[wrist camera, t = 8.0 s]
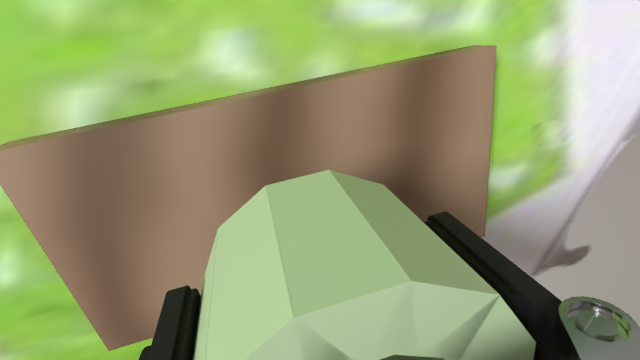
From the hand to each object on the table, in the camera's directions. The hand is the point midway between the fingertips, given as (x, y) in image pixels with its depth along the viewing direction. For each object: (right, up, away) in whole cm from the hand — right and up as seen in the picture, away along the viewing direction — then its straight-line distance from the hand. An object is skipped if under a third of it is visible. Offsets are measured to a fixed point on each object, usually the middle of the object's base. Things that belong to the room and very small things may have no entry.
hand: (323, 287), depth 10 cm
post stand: (-2, +3, +6) cm, 7 cm away
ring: (0, 0, +1) cm, 1 cm away
